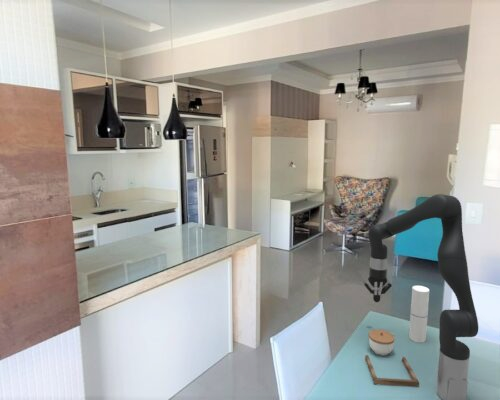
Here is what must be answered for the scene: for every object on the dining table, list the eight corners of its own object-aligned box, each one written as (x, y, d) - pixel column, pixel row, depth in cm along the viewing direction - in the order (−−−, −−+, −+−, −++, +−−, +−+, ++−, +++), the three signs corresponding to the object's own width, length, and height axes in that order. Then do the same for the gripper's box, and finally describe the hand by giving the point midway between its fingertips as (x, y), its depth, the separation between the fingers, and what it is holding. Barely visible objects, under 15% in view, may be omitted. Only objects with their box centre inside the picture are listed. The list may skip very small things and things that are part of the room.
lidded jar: (363, 350, 155) (364, 331, 153) (376, 341, 162) (377, 323, 160) (385, 361, 147) (386, 341, 145) (398, 352, 153) (399, 332, 152)
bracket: (365, 359, 149) (365, 354, 148) (404, 361, 147) (404, 356, 147) (374, 384, 133) (374, 379, 133) (418, 386, 132) (419, 382, 131)
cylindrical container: (408, 340, 162) (411, 290, 158) (409, 332, 169) (412, 284, 165) (425, 344, 159) (429, 293, 155) (425, 336, 165) (429, 287, 161)
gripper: (365, 269, 156) (363, 304, 159) (395, 269, 155) (393, 305, 158) (361, 263, 163) (360, 297, 166) (390, 264, 162) (388, 298, 165)
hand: (376, 301), depth 162 cm, fingers closed
